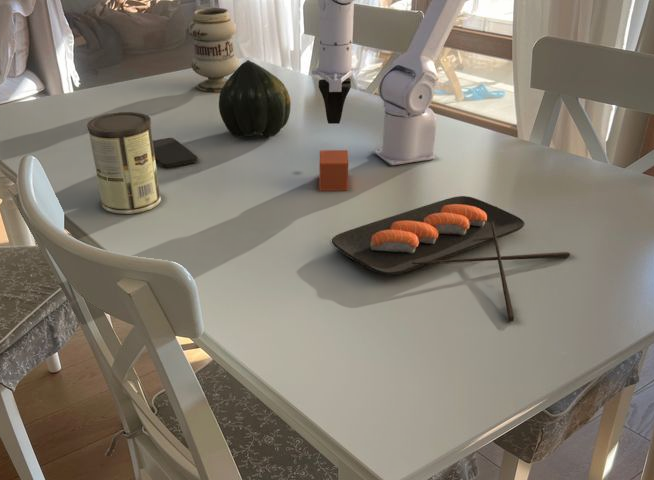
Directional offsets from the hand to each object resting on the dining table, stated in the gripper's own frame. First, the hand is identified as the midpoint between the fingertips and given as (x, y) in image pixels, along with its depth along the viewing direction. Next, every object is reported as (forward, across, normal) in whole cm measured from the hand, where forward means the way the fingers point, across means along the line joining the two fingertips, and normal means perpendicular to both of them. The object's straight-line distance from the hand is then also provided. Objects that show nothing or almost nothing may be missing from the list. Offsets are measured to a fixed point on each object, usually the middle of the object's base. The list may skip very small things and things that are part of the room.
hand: (333, 122), depth 128 cm
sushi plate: (+9, +36, +19) cm, 41 cm away
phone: (+9, -9, -33) cm, 35 cm away
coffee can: (+9, +14, -35) cm, 39 cm away
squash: (+9, -22, -16) cm, 29 cm away
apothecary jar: (+9, -59, -29) cm, 67 cm away
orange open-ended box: (+9, +6, 0) cm, 11 cm away
